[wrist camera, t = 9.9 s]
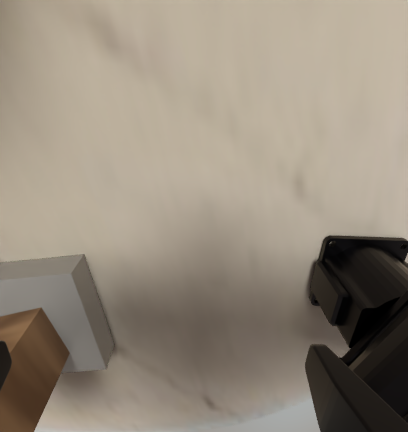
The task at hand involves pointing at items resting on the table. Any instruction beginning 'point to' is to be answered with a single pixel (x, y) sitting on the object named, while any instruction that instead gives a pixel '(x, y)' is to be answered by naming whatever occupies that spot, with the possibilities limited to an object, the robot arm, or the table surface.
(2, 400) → the box
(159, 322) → the table surface
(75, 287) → the stone block
